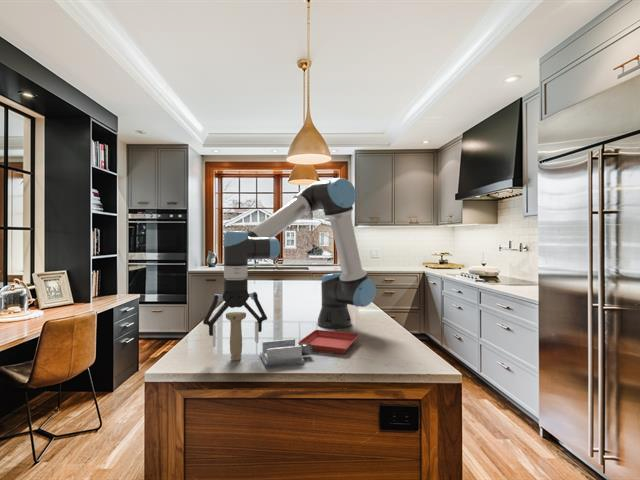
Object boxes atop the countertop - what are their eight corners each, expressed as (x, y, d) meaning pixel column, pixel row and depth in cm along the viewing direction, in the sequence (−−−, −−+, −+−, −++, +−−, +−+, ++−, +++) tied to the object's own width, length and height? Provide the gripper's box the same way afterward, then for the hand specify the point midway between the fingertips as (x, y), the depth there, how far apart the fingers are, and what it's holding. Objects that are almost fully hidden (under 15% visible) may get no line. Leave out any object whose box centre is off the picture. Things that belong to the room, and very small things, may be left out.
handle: (228, 356, 123) (227, 312, 122) (247, 356, 123) (247, 312, 122) (224, 362, 118) (224, 315, 117) (244, 362, 118) (244, 315, 118)
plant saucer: (346, 357, 123) (346, 347, 123) (297, 351, 130) (297, 342, 130) (359, 342, 140) (359, 333, 140) (315, 337, 147) (315, 329, 146)
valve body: (305, 351, 129) (305, 336, 129) (316, 362, 118) (316, 346, 117) (260, 355, 124) (260, 340, 124) (266, 368, 112) (266, 351, 112)
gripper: (195, 281, 112) (195, 350, 112) (276, 278, 120) (275, 343, 120) (195, 278, 119) (195, 343, 120) (271, 276, 127) (271, 337, 128)
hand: (235, 343), depth 120 cm, fingers open, 13 cm apart
